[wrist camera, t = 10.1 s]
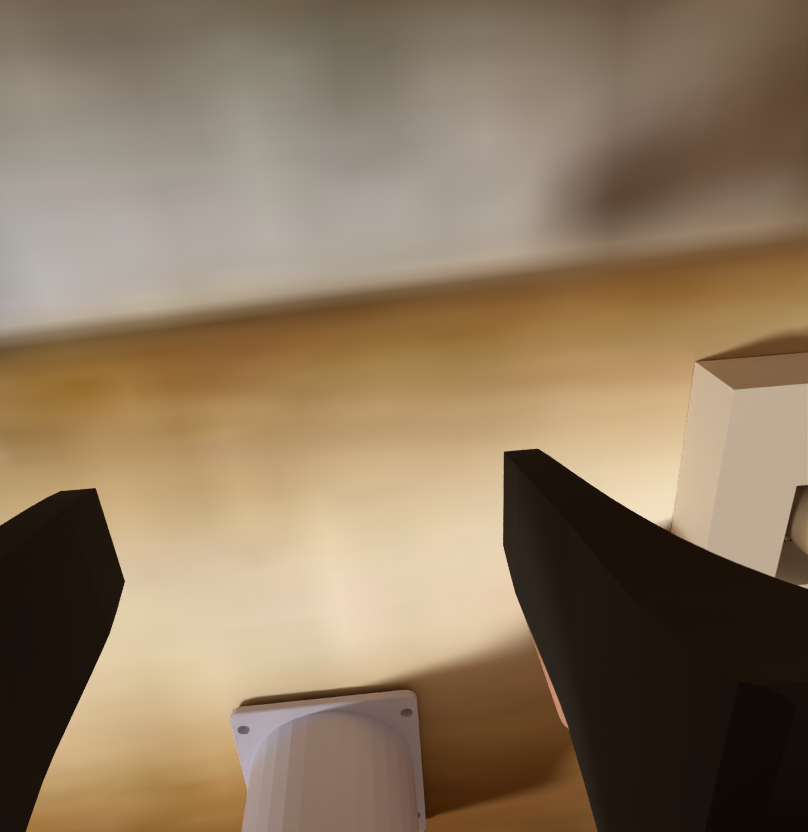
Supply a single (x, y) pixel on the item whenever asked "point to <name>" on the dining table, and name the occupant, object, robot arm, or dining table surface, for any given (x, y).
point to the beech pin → (799, 519)
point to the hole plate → (745, 461)
